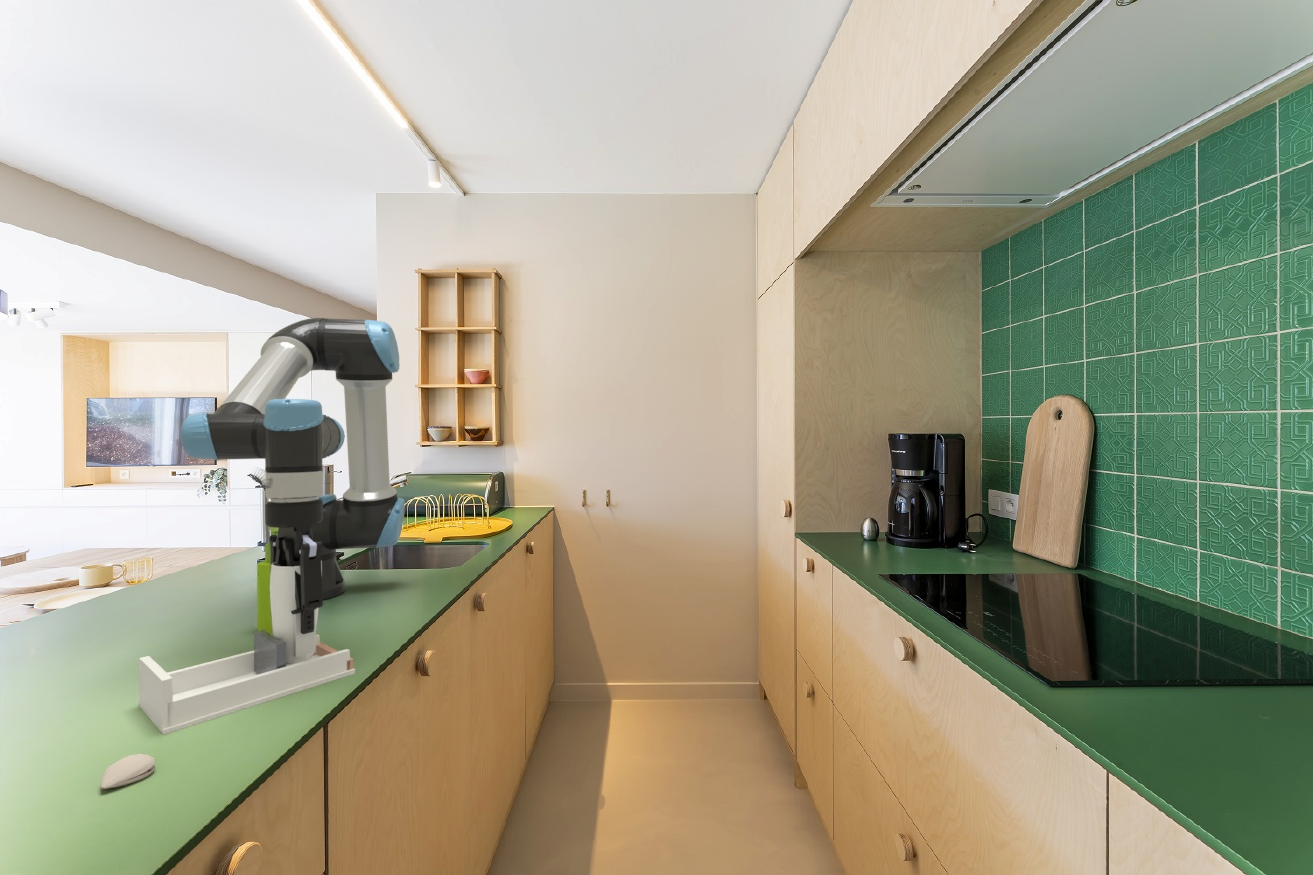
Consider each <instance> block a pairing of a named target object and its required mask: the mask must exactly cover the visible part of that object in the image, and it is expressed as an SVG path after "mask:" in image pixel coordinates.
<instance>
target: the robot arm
mask: <svg viewBox="0 0 1313 875" xmlns="http://www.w3.org/2000/svg"><path fill="white" fill-rule="evenodd" d="M260 349H261V350H260V358H259V359H258V360H257V361H256V362H255V364H253V365H252V367H250V370H248V372H247V373H246V374H245V375H244V377H243V378H242V379H241V380H240V382H239V383H238V384H237V385H236V386H235V388H234V389H233V390H232V391H231V392H230V393H229V395H228V396H227V397H226V398H225V400H224V401H223V402H222V403H221V404H220V405H219V407H218V408H216V410H215V411H214V412H213V413H208V412H203V413H194V414H191V415H188V416H187V417H186V418H185V419H184V420H183V422H182V424H181V428H180V443H181V446H182V449H183V450H184V452H185V454H186V455H188V456H189V457H190V458H191V459H197V460H214V461H220V460H221V461H223V460H253V459H254V460H258V459H259V460H260V459H262V460H263V459H264V461H265V463H264V464H265V466H264V469H265V470H264V472H265V478H264V479H262V480H261V485H262V486H264V487H265V498H266V499H267V500H269V499H270V501H267V502H266V503H265V506H264V508H265V509H264V512H265V514H264V515H265V518H264V519H265V525H266V526H267V527H268V528H269V527H274V528H279V529H278V534H277V535H269V538H268V539H269V542H270V548H271V562H270V574H271V565H272V563H274V562H278V564H280V566H291V567H294V566H300V574H298V573H297V572H296V571H295V601H296V610H292V611H291V613H292V614H294V656H295V657H297V656H301V655H304V654H308V653H312V652H315V651H316V643H315V609H317V608H322V607H323V603H324V601H323V600H327V599H331V598H334V597H337V596H339V595H341V594H344V593H345V584H346V583H345V580H344V577H343V573H342V572H341V568H340V566H339V563H338V561H337V550H347V549H348V550H349V549H368V548H369V549H372V548H373V549H374V548H376V549H379V548H383V547H385V548H386V547H392V546H395V545H396V544H397V543H398V542H399V540H400V537H401V535H402V534H401V533H402V531H403V530H402V528H403V524H404V518H405V509H406V508H405V507H406V504H405V499H404V498H401V497H398V492H397V489H396V488H395V487H394V486H392V485H391V483H390V482H391V481H390V463H389V462H390V461H389V460H390V459H389V458H390V457H389V442H388V441H389V440H388V438H389V436H388V416H387V415H388V413H387V412H388V411H387V409H388V408H387V392H386V388H387V386H388V385H389V384H390V383H391V382H392V381H393V374H395V373H398V372H399V371H400V352H399V347H398V343H397V338H396V335H395V332H394V330H393V328H392V326H391V325H390V324H389V323H387V322H385V321H382V320H381V321H380V320H372V319H369V318H368V319H351V318H350V319H349V318H347V319H346V318H328V317H327V318H325V317H315V318H314V317H312V318H306V319H302V320H299V321H295V322H293V323H291V324H288V325H287V326H285V327H283V328H281V329H279V330H278V331H276V332H275V333H273V334H272V335H271V336H270V337H269V338H268V339H266V341H265V342H264V343H263V344H262V347H261V348H260ZM312 371H330V372H331V371H334V372H335V380H336V381H337V382H338V383H340V385H341V386H343V392H344V408H345V426H346V435H345V431H344V428H343V426H342V424H340V422H338V421H337V420H336V419H334V418H333V417H331V416H329V415H326V414H324V413H323V405H322V403H321V402H320V401H318V400H315V399H306V398H304V399H303V398H302V399H300V398H287V396H289V394H290V393H291V391H292V389H293V388H294V386H295V384H296V383H297V382H298V381H299V379H300V378H302V377H304V376H307V375H308V374H309V373H310V372H312ZM345 438H346V442H347V443H346V445H347V460H348V461H347V462H348V463H347V464H348V479H349V481H348V482H349V488H348V489H346V491H345V492H344V493H343V494H342V499H341V500H340V499H338V498H337V496H336V494H334V493H331V494H330V493H329V494H324V470H323V459H326V458H328V457H331V456H333V455H334V454H336V453H337V452H338V451H340V450H341V449H342V447H343V445H344V442H345ZM321 561H322V571H321Z"/></svg>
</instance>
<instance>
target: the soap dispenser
mask: <svg viewBox="0 0 1313 875" xmlns="http://www.w3.org/2000/svg"><path fill="white" fill-rule="evenodd" d="M278 529H279V528H274V527H269V526H268V530H269V531H270V532H269V534H270V535H277V534H278ZM270 535H269V536H270ZM270 562H271V548H270V541H269V542H267V543H265V545H264V560H262V561H260V562H258V563H257V564H256V567H257V568H256V574H257V575H256V581H257V582H256V584H257V586H256V588H257V589H256V592H257V594H256V595H257V596H256V599H257V600H256V602H257V603H256V605H257V606H256V607H257V608H256V609H257V610H256V611H257V631H261V630H264V631H266V632H268V633H270V634H271V635H273V630H272V615H271V602H270Z"/></svg>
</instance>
